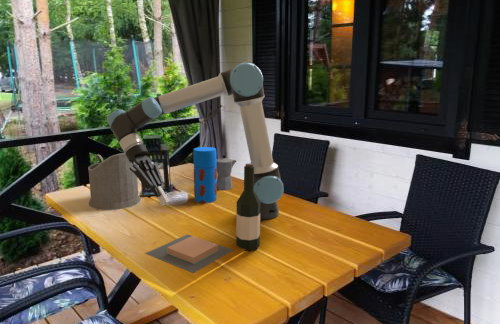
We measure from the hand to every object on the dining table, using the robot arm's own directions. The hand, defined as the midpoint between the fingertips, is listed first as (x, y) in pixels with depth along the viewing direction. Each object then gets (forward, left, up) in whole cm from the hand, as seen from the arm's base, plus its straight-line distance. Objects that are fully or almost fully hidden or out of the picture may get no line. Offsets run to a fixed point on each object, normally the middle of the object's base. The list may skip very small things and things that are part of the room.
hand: (165, 203), depth 138 cm
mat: (-10, +8, -15) cm, 20 cm away
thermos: (-4, -50, -15) cm, 53 cm away
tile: (-6, +5, -13) cm, 15 cm away
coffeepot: (-9, -71, -15) cm, 73 cm away
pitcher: (+40, -45, -15) cm, 62 cm away
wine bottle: (-29, 0, -15) cm, 33 cm away
